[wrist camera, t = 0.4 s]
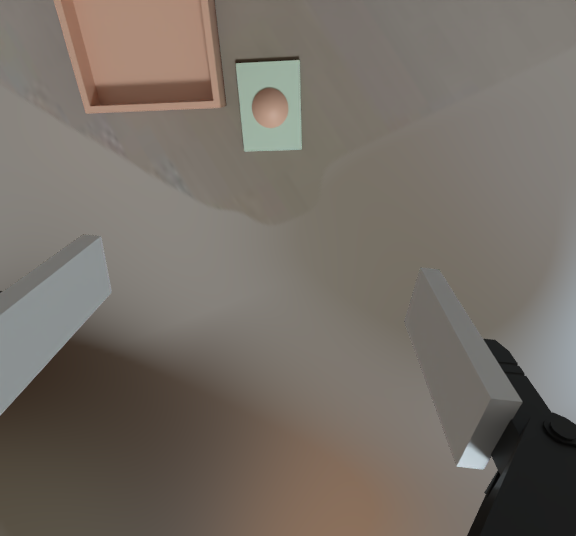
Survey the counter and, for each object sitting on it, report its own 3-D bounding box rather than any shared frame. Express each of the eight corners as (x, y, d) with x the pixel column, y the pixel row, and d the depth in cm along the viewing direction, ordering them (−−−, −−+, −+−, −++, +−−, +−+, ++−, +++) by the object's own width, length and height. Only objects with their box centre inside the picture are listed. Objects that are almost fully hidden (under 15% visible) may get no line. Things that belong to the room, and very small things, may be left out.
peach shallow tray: (54, -58, 30) (34, -68, 28) (206, -70, 29) (197, -82, 27) (99, 111, 37) (86, 113, 35) (226, 105, 36) (220, 107, 34)
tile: (236, 63, 34) (235, 63, 34) (299, 60, 33) (299, 60, 33) (244, 150, 38) (244, 151, 37) (301, 149, 37) (301, 149, 37)
